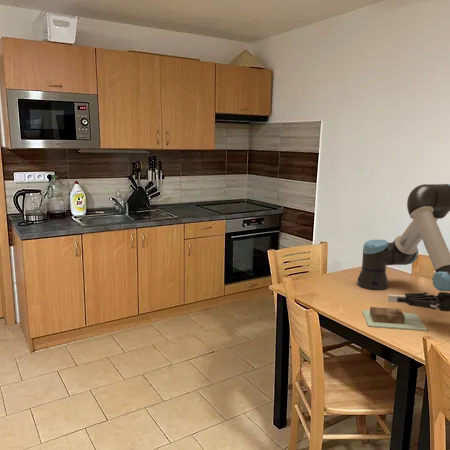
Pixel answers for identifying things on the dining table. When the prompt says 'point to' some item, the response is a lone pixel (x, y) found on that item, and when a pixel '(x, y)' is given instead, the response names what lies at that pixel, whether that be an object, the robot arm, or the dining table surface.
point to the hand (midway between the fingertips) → (388, 298)
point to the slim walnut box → (387, 315)
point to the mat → (410, 323)
